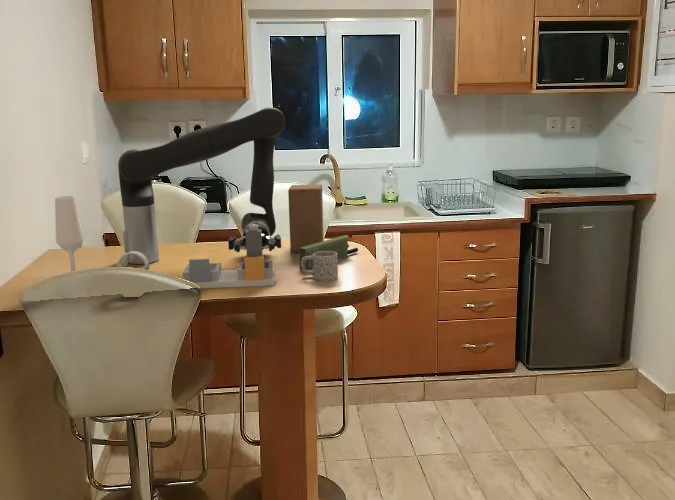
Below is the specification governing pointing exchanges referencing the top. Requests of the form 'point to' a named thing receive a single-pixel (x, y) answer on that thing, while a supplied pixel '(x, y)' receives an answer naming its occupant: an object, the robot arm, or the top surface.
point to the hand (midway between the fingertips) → (254, 248)
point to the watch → (126, 257)
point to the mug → (322, 265)
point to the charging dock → (230, 273)
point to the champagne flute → (68, 226)
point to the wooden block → (305, 215)
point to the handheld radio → (327, 249)
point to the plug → (253, 241)
